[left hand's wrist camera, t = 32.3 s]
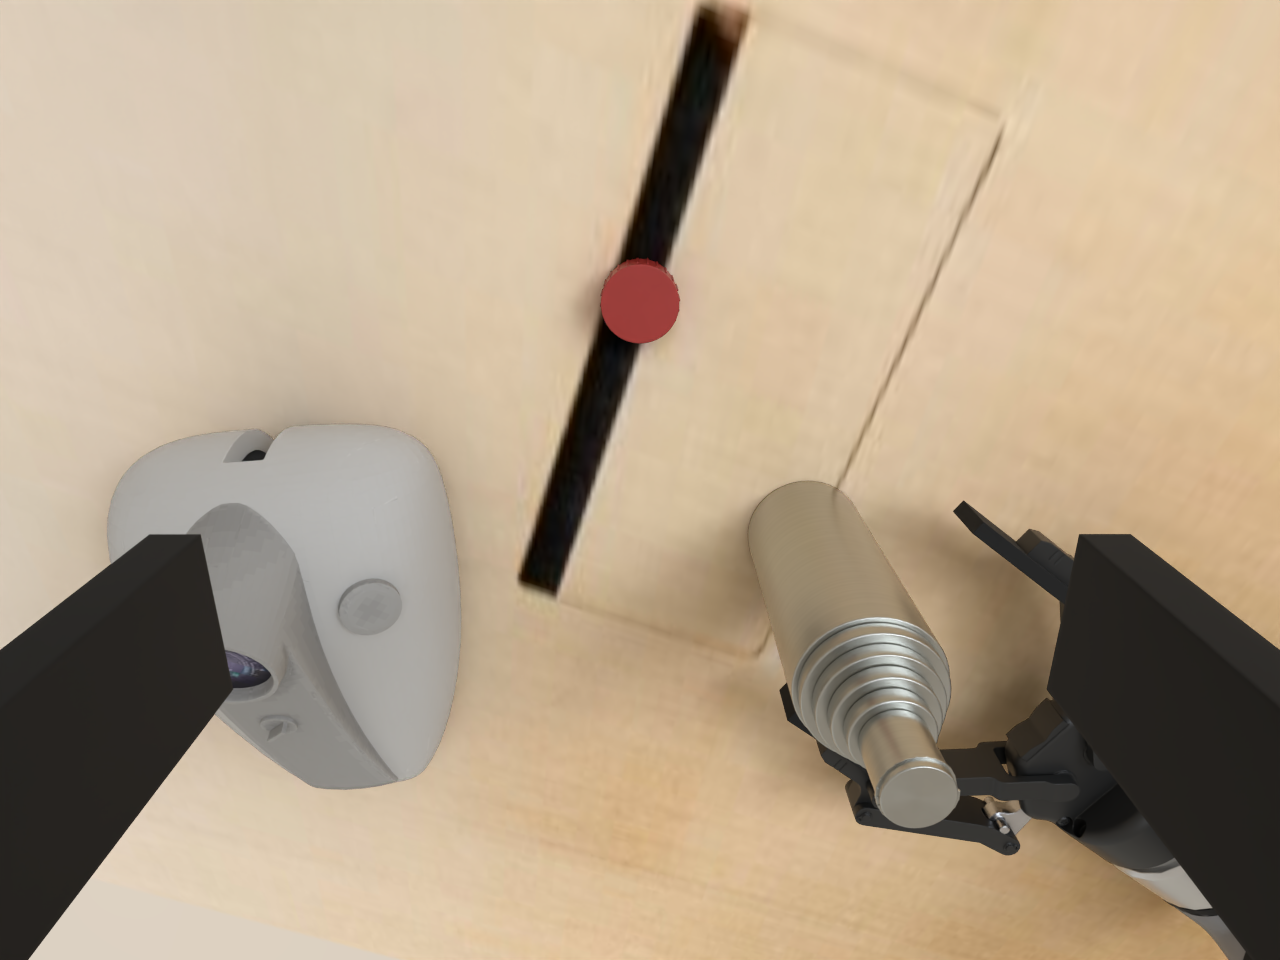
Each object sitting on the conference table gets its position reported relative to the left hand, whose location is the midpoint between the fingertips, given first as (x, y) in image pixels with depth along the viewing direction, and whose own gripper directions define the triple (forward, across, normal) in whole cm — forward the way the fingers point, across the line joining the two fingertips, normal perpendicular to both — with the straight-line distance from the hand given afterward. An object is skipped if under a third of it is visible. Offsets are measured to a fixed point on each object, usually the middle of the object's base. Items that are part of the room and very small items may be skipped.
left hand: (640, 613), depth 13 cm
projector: (+33, -17, -18) cm, 41 cm away
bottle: (+33, +9, -14) cm, 37 cm away
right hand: (+27, +12, -16) cm, 33 cm away
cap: (+30, 0, 0) cm, 31 cm away
